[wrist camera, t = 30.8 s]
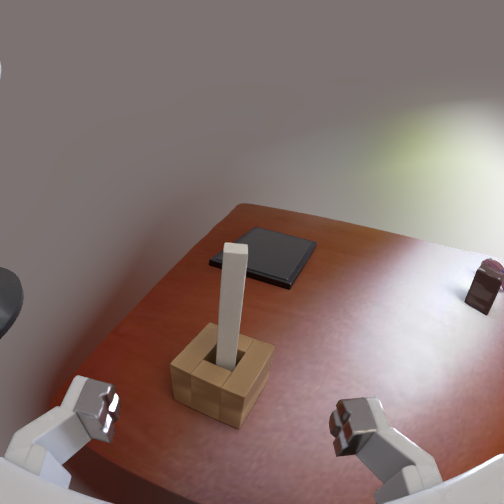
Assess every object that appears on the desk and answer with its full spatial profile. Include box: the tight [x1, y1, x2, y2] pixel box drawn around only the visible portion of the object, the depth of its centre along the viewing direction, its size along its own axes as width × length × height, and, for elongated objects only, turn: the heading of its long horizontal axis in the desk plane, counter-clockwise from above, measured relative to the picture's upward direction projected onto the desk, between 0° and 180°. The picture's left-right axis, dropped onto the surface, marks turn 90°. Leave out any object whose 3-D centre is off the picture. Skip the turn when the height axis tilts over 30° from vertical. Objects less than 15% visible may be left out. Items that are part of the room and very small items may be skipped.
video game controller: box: [481, 258, 504, 290], centre depth 54 cm, size 10×5×7 cm
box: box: [465, 263, 504, 315], centre depth 44 cm, size 6×6×7 cm
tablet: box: [209, 227, 317, 289], centre depth 55 cm, size 20×14×1 cm
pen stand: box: [170, 323, 275, 429], centre depth 25 cm, size 7×7×5 cm
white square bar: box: [216, 243, 248, 372], centre depth 23 cm, size 2×2×15 cm
